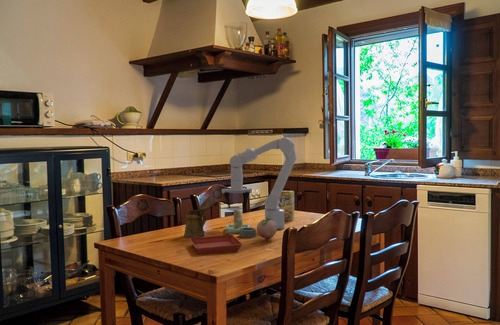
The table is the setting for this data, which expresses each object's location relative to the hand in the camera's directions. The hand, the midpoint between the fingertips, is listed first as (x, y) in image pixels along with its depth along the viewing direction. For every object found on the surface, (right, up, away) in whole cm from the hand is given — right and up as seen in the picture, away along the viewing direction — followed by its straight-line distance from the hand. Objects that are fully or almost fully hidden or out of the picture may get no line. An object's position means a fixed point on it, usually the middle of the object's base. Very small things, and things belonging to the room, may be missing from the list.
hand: (237, 207), depth 222 cm
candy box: (+25, -8, +18) cm, 32 cm away
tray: (+1, -10, -9) cm, 13 cm away
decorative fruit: (+13, -11, -29) cm, 34 cm away
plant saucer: (-8, -12, -41) cm, 44 cm away
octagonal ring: (+5, -10, -20) cm, 23 cm away
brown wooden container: (-17, -11, -20) cm, 28 cm away
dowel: (+1, -9, -9) cm, 13 cm away
